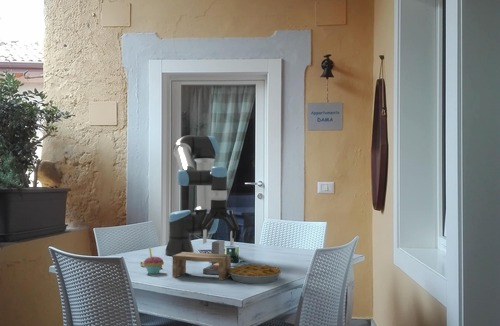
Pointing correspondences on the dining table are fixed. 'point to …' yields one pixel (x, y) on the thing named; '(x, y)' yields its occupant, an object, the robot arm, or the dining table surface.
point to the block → (216, 266)
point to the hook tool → (216, 249)
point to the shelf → (181, 258)
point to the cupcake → (153, 264)
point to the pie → (254, 273)
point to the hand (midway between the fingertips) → (218, 244)
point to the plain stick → (144, 265)
